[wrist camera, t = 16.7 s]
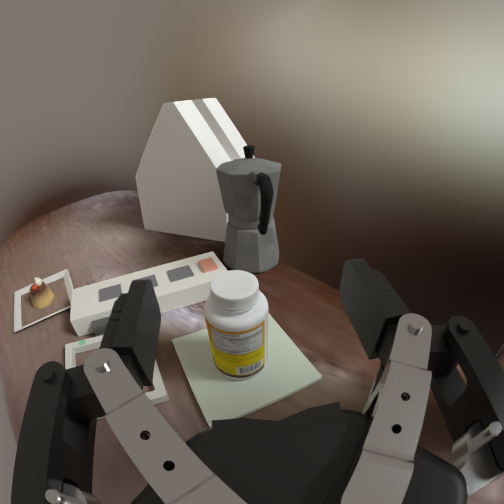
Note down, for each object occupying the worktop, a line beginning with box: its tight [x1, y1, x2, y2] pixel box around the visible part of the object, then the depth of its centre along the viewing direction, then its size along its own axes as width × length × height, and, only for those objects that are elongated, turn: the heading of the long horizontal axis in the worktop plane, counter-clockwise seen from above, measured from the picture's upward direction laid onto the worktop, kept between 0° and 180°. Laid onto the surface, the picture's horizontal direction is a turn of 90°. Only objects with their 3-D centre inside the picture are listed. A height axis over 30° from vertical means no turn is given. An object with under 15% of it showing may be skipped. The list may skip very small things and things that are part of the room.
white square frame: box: [65, 335, 170, 419], centre depth 27 cm, size 11×11×1 cm
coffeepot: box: [216, 145, 281, 274], centre depth 41 cm, size 15×9×18 cm, turn 15°
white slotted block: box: [135, 98, 255, 242], centre depth 54 cm, size 19×15×25 cm
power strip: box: [70, 251, 227, 337], centre depth 36 cm, size 22×10×3 cm, turn 117°
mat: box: [172, 313, 322, 429], centre depth 29 cm, size 12×12×1 cm
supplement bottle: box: [204, 270, 268, 380], centre depth 26 cm, size 6×6×10 cm
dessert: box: [14, 269, 74, 332], centre depth 36 cm, size 12×12×5 cm
